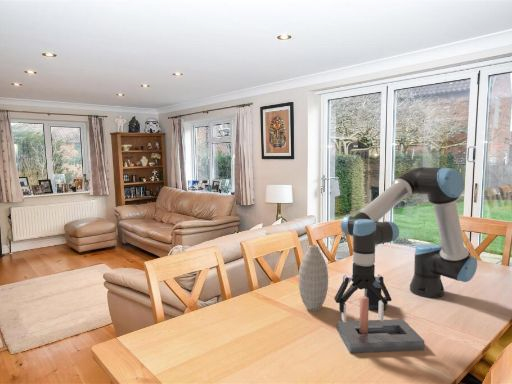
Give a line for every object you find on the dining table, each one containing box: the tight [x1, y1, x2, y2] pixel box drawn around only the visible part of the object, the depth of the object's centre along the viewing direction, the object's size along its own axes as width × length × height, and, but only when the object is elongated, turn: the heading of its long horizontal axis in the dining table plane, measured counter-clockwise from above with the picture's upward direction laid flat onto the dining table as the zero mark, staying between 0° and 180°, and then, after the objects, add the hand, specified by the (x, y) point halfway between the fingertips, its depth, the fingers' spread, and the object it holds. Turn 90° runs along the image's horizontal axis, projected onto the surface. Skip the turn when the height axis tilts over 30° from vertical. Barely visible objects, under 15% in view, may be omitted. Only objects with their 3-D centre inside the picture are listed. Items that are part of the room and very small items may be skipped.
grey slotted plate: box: [336, 318, 425, 354], centre depth 129 cm, size 26×16×4 cm, turn 93°
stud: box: [359, 295, 370, 334], centre depth 128 cm, size 5×5×16 cm
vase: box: [298, 244, 329, 312], centre depth 155 cm, size 13×13×28 cm
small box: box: [363, 280, 382, 311], centre depth 158 cm, size 11×6×10 cm, turn 168°
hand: (362, 320), depth 128 cm, fingers open, 13 cm apart
